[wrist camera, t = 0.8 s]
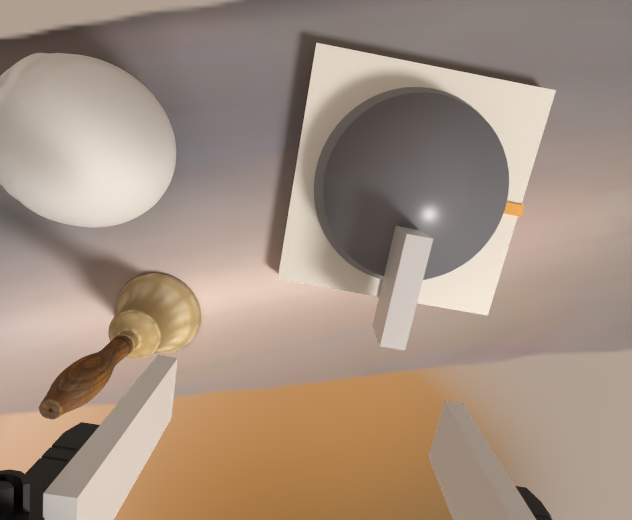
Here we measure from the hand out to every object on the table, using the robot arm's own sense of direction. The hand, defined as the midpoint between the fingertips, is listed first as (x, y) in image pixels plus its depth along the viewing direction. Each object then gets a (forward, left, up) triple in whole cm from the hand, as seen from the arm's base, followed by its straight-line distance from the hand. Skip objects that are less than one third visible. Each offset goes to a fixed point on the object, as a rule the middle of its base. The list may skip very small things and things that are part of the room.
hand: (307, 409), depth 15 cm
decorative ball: (-18, +8, -22) cm, 30 cm away
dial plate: (+7, +9, -22) cm, 25 cm away
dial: (+7, +7, -20) cm, 22 cm away
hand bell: (-14, -7, -22) cm, 27 cm away
